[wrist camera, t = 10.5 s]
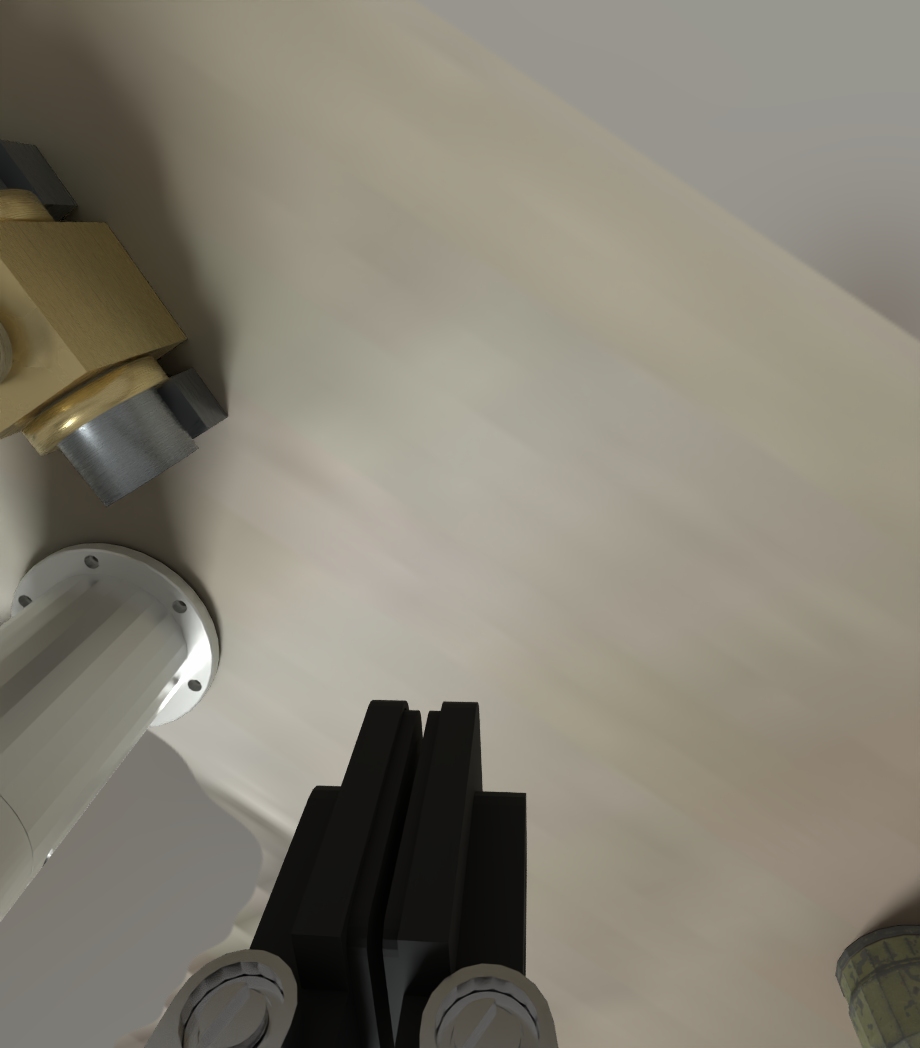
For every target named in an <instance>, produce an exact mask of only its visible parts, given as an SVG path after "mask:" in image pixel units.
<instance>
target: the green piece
mask: <svg viewBox="0 0 920 1048" xmlns="http://www.w3.org/2000/svg"><path fill="white" fill-rule="evenodd" d="M836 977H837V980H838V983H839V985H840V988H841V991H842V993H843V996H844V997H845V998H846V1000H847V1002H848V1005H849V1015H850V1018H851V1021H852V1024H853V1026H854V1029H855V1031H856V1034H857V1036H858V1039H859V1041H860V1044H861V1046H862V1048H920V926H895V927H890V928H885V929H880V930H877V931H874V932H872V933H870V934H868V935H865V936H863V937H861V938H859V939H858V940H857V941H855V942H854V943H853V944H851V945H850V946H849V947H848V948H846V949H845V951H844V953H843V954H842V956H841V957H840V959H839V960H838V962H837V969H836Z"/></svg>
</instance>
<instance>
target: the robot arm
mask: <svg viewBox="0 0 920 1048" xmlns="http://www.w3.org/2000/svg"><path fill="white" fill-rule="evenodd" d="M218 661H219V645H218V637H217V634H216V630H215V627H214V623H213V621H212V619H211V617H210V615H209V613H208V611H207V609H206V607H205V605H204V604H203V602H202V601H201V600H200V598H199V597H198V595H197V594H196V593H195V591H194V590H193V589H192V588H191V587H190V586H189V585H188V584H187V583H186V582H185V581H184V580H183V579H182V578H181V577H180V576H179V575H178V574H176V573H175V572H174V571H172V570H171V569H169V568H168V567H167V566H165V565H164V564H163V563H161V562H159V561H157V560H155V559H153V558H151V557H149V556H147V555H146V554H144V553H141V552H138V551H135V550H132V549H129V548H126V547H123V546H117V545H111V544H105V543H86V544H79V545H74V546H70V547H65V548H63V549H61V550H59V551H57V552H55V553H52V554H50V555H49V556H47V557H46V558H44V559H43V560H42V561H40V562H39V563H37V564H36V565H34V566H33V567H32V568H31V569H30V570H29V571H28V572H27V574H26V575H25V576H24V577H23V578H22V580H21V582H20V583H19V585H18V587H17V589H16V591H15V594H14V598H13V602H12V606H11V618H10V619H9V620H8V621H6V622H5V623H4V624H2V625H1V626H0V922H1V920H2V919H3V918H4V916H5V915H6V914H7V912H8V911H9V910H10V908H11V907H12V906H13V904H14V903H15V902H16V901H17V899H18V898H19V897H20V895H21V894H22V893H23V891H24V890H25V888H26V887H27V886H28V884H29V883H30V882H31V881H32V879H33V878H34V877H35V876H36V874H37V873H38V872H39V870H40V869H41V868H42V867H43V866H44V864H45V863H46V862H47V860H48V859H49V858H50V856H51V855H52V854H53V852H54V851H55V850H56V848H57V847H58V846H59V844H60V843H61V842H62V840H63V839H64V838H65V836H66V835H67V834H68V832H69V831H70V830H71V828H72V827H73V826H74V824H75V823H76V822H77V821H78V819H79V818H80V817H81V815H82V814H83V813H84V811H85V810H86V809H87V807H88V806H89V805H90V803H91V802H92V801H93V799H94V798H95V797H96V795H97V794H98V793H99V791H100V790H101V789H102V787H103V786H104V785H105V783H106V782H107V781H108V780H109V778H110V777H111V776H112V774H113V773H114V772H115V770H116V769H117V768H118V766H119V765H120V764H121V763H122V761H123V760H124V759H125V757H126V756H127V755H128V753H129V752H130V750H131V749H132V748H133V747H134V745H135V744H136V743H137V741H138V740H139V739H140V738H141V736H142V735H143V734H144V732H145V731H146V730H147V728H148V727H154V726H160V725H164V724H167V723H169V722H172V721H175V720H177V719H179V718H181V717H182V716H184V715H185V714H187V713H188V712H190V711H191V710H192V709H193V708H194V707H195V706H196V705H197V704H198V703H199V702H200V701H201V700H202V698H203V697H204V695H205V694H206V692H207V691H208V690H209V688H210V687H211V684H212V682H213V680H214V677H215V675H216V673H217V668H218ZM526 887H527V830H526V793H512V792H483V789H482V766H481V742H480V719H479V705H478V702H443V704H442V708H441V711H429V714H428V718H427V722H426V727H425V732H424V736H423V735H422V722H421V714H420V711H419V710H409V706H408V703H407V701H396V700H372V701H371V702H370V704H369V706H368V709H367V712H366V715H365V718H364V721H363V724H362V727H361V730H360V733H359V736H358V738H357V741H356V744H355V747H354V750H353V753H352V756H351V759H350V762H349V765H348V768H347V771H346V773H345V776H344V779H343V782H342V785H341V786H316V787H315V788H314V789H313V790H312V792H311V794H310V796H309V798H308V801H307V803H306V806H305V809H304V811H303V814H302V816H301V819H300V821H299V824H298V826H297V829H296V832H295V834H294V837H293V839H292V842H291V844H290V847H289V849H288V852H287V855H286V857H285V860H284V862H283V865H282V867H281V870H280V872H279V875H278V877H277V880H276V883H275V885H274V888H273V890H272V893H271V895H270V898H269V900H268V903H267V906H266V908H265V911H264V913H263V916H262V918H261V921H260V923H259V926H258V928H257V931H256V934H255V936H254V939H253V941H252V944H251V946H250V949H245V950H240V951H236V952H232V953H227V954H225V955H223V956H221V957H219V958H217V959H215V960H213V961H211V962H209V963H207V964H206V965H205V966H203V967H202V968H201V969H200V970H199V971H197V972H196V973H195V974H194V975H193V976H191V977H190V978H189V979H188V981H187V982H186V983H185V984H184V986H183V987H182V988H181V989H180V991H179V992H178V993H177V995H176V996H175V997H174V999H173V1001H172V1002H171V1004H170V1006H169V1007H168V1009H167V1011H166V1012H165V1014H164V1015H163V1017H162V1019H161V1020H160V1022H159V1024H158V1025H157V1027H156V1028H155V1030H154V1032H153V1033H152V1035H151V1037H150V1038H149V1040H148V1041H147V1043H146V1045H145V1046H144V1048H558V1043H557V1037H556V1031H555V1025H554V1021H553V1018H552V1015H551V1012H550V1009H549V1006H548V1003H547V1001H546V999H545V998H544V996H543V995H542V993H541V992H540V991H539V989H538V988H537V986H536V985H535V984H534V983H533V982H531V981H530V980H529V979H528V978H526Z"/></svg>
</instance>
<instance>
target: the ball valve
mask: <svg viewBox="0 0 920 1048" xmlns="http://www.w3.org/2000/svg"><path fill="white" fill-rule="evenodd" d="M76 206H77V204H76V202H75V201H74V200H73V198H72V197H71V195H70V194H69V193H68V191H67V190H66V188H65V187H64V186H63V184H62V183H61V181H60V180H59V179H58V177H57V176H56V174H55V173H54V172H53V170H52V169H51V167H50V166H49V164H48V163H47V162H46V160H45V159H44V157H43V156H42V155H41V153H40V152H39V150H38V149H37V148H36V146H35V145H29V144H22V143H16V142H10V141H4V140H0V321H1V323H2V324H3V326H4V327H5V329H6V331H7V333H8V335H9V338H10V341H11V345H12V351H13V361H12V366H11V369H10V372H9V374H8V376H7V377H6V378H5V379H4V380H3V381H2V382H1V383H0V439H2V438H5V437H7V436H10V435H12V434H15V433H17V432H20V431H22V433H23V435H24V436H25V437H26V438H27V439H28V441H29V442H30V443H31V444H32V446H33V447H34V448H35V449H36V450H37V452H38V453H39V454H40V455H41V456H43V455H46V454H49V453H51V452H54V451H56V450H58V449H60V450H61V451H62V452H63V454H64V455H65V456H66V457H67V459H68V460H69V461H70V462H71V464H72V465H73V466H74V467H75V469H76V470H77V471H78V472H79V474H80V475H81V476H82V477H83V479H84V480H85V481H86V482H87V483H88V485H89V486H90V487H91V488H92V490H93V491H94V492H95V493H96V495H97V496H98V497H99V498H100V500H101V501H102V502H103V503H104V505H105V506H106V507H107V506H109V505H111V504H112V503H114V502H116V501H117V500H119V499H121V498H122V497H124V496H125V495H127V494H129V493H130V492H132V491H133V490H135V489H137V488H138V487H140V486H141V485H143V484H144V483H146V482H148V481H149V480H151V479H152V478H154V477H155V476H157V475H159V474H160V473H162V472H163V471H165V470H166V469H168V468H169V467H171V466H173V465H174V464H176V463H177V462H179V461H180V460H182V459H183V458H185V457H186V456H188V455H189V454H191V453H192V452H194V451H195V450H197V449H198V446H197V445H196V444H195V442H194V441H193V439H194V438H195V437H197V436H199V435H200V434H202V433H203V432H205V431H206V430H208V429H210V428H211V427H213V426H214V425H216V424H218V423H219V422H221V421H222V420H224V419H225V418H227V417H228V416H227V415H226V414H225V412H224V411H223V409H222V408H221V406H220V405H219V404H218V402H217V401H216V399H215V398H214V397H213V395H212V394H211V392H210V391H209V390H208V388H207V387H206V385H205V384H204V383H203V381H202V380H201V378H200V377H199V376H198V374H197V373H196V371H195V370H194V368H191V369H189V370H186V371H184V372H182V373H179V374H177V375H175V376H172V377H170V378H168V376H167V375H166V374H165V372H164V371H163V369H162V368H161V367H160V365H159V364H158V363H157V361H156V360H157V359H159V358H160V357H162V356H163V355H165V354H166V353H167V352H169V351H170V350H172V349H173V348H175V347H176V346H178V345H179V344H181V343H182V342H184V341H185V340H186V339H187V337H186V336H185V334H184V333H183V332H182V330H181V329H180V327H179V326H178V325H177V323H176V322H175V320H174V319H173V317H172V316H171V315H170V313H169V312H168V310H167V309H166V307H165V306H164V305H163V303H162V302H161V300H160V299H159V298H158V296H157V295H156V293H155V292H154V290H153V289H152V288H151V286H150V285H149V283H148V282H147V280H146V279H145V278H144V276H143V275H142V273H141V272H140V271H139V269H138V268H137V266H136V265H135V263H134V262H133V261H132V259H131V258H130V256H129V255H128V253H127V252H126V251H125V249H124V248H123V246H122V245H121V244H120V242H119V241H118V239H117V238H116V236H115V235H114V234H113V232H112V231H111V229H110V228H109V226H108V225H107V224H106V222H57V221H58V220H60V219H61V218H62V217H64V216H65V215H66V214H67V213H69V212H70V211H71V210H72V209H74V208H75V207H76Z"/></svg>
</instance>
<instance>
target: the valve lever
mask: <svg viewBox="0 0 920 1048" xmlns="http://www.w3.org/2000/svg"><path fill="white" fill-rule="evenodd" d="M12 361H13V351H12V345H11V341H10V338H9V335H8V333H7V331H6V329H5V327H4V326H3V324H2V323H1V321H0V383H1V382H2V381H3V380H4V379H5V378H6V377H7V376H8V374H9V372H10V369H11V366H12Z"/></svg>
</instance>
